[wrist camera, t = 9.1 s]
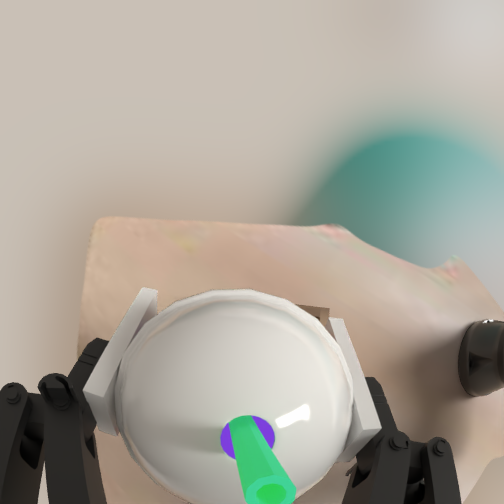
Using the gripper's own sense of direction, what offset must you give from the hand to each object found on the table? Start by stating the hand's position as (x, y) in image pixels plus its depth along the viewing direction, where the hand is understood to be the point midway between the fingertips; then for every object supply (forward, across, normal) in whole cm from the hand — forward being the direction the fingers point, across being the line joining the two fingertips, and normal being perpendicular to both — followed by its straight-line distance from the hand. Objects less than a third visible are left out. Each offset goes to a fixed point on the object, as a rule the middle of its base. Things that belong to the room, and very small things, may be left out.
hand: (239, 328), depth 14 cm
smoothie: (+4, 0, -9) cm, 10 cm away
